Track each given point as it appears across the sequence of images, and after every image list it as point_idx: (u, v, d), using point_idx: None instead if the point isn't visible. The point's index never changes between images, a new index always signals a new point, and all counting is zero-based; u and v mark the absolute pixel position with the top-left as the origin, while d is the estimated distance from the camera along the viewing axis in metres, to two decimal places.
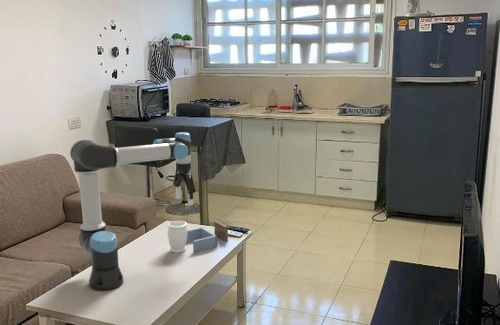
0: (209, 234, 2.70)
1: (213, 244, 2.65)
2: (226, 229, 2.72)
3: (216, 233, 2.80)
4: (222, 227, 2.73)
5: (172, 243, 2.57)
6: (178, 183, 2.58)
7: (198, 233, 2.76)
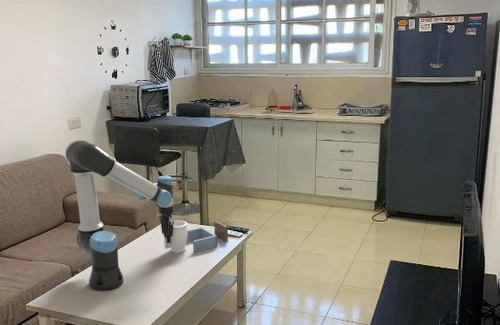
0: (209, 234, 2.70)
1: (213, 244, 2.65)
2: (226, 229, 2.72)
3: (216, 233, 2.80)
4: (222, 227, 2.73)
5: (172, 243, 2.57)
6: None
7: (198, 233, 2.76)
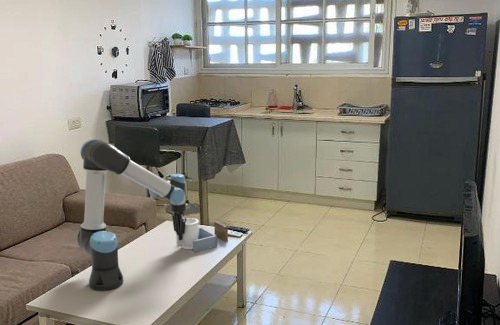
0: (209, 234, 2.70)
1: (213, 244, 2.65)
2: (226, 229, 2.72)
3: (216, 233, 2.80)
4: (222, 227, 2.73)
5: (184, 240, 2.61)
6: None
7: None
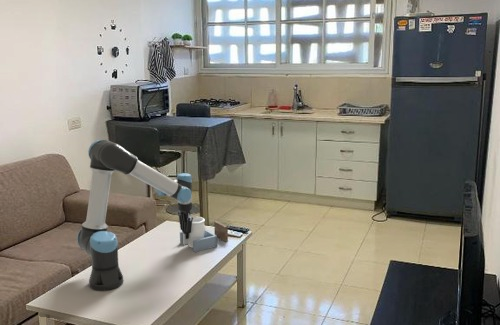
0: (209, 234, 2.70)
1: (213, 244, 2.65)
2: (226, 229, 2.72)
3: (216, 233, 2.80)
4: (222, 227, 2.73)
5: (191, 239, 2.63)
6: None
7: None
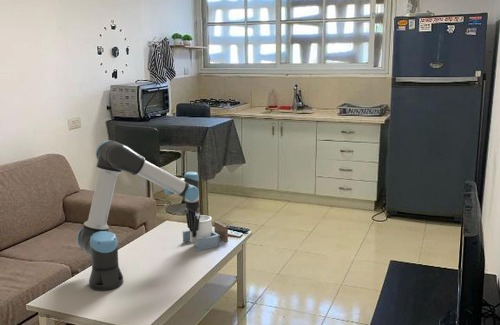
0: (212, 233, 2.71)
1: (216, 243, 2.66)
2: (226, 229, 2.72)
3: None
4: (222, 227, 2.73)
5: (198, 237, 2.65)
6: None
7: None
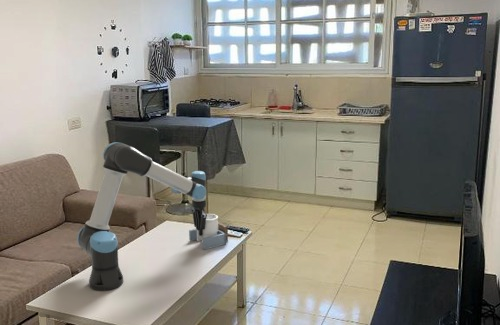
0: (218, 232, 2.73)
1: (222, 242, 2.68)
2: (226, 229, 2.72)
3: None
4: (222, 227, 2.73)
5: (204, 235, 2.68)
6: None
7: None
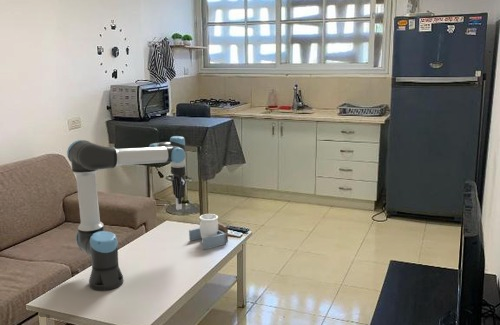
0: (218, 232, 2.73)
1: (222, 242, 2.68)
2: (226, 229, 2.72)
3: None
4: (222, 227, 2.73)
5: (204, 235, 2.68)
6: None
7: None
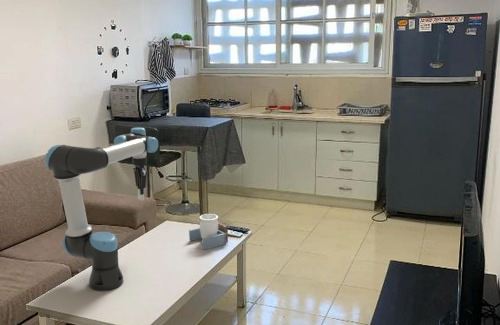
0: (218, 232, 2.73)
1: (222, 242, 2.68)
2: (226, 229, 2.72)
3: None
4: (222, 227, 2.73)
5: (204, 235, 2.68)
6: None
7: None
